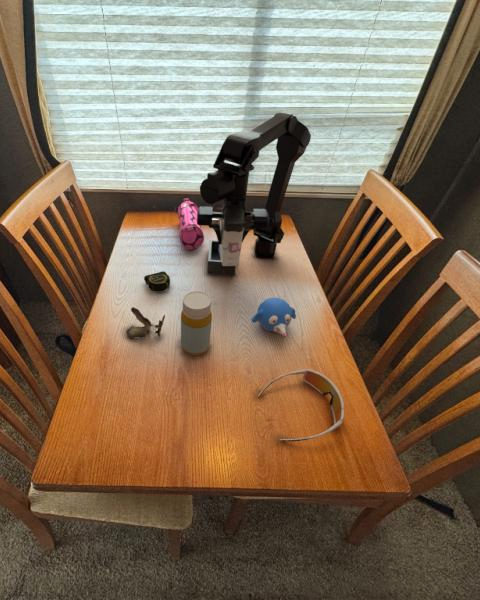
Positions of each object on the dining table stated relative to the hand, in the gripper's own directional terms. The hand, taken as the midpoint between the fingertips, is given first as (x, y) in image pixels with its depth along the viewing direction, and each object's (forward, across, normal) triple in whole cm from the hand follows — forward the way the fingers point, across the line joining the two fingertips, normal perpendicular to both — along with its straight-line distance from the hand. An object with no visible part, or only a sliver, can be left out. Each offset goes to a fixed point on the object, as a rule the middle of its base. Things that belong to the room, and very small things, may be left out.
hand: (229, 244), depth 91 cm
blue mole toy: (+13, +12, -21) cm, 27 cm away
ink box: (+5, 0, 0) cm, 5 cm away
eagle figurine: (+12, -21, -24) cm, 34 cm away
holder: (+13, -2, +8) cm, 15 cm away
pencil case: (+13, -13, +26) cm, 32 cm away
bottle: (+12, -8, -27) cm, 31 cm away
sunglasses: (+12, +15, -43) cm, 47 cm away
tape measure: (+13, -21, -5) cm, 25 cm away
